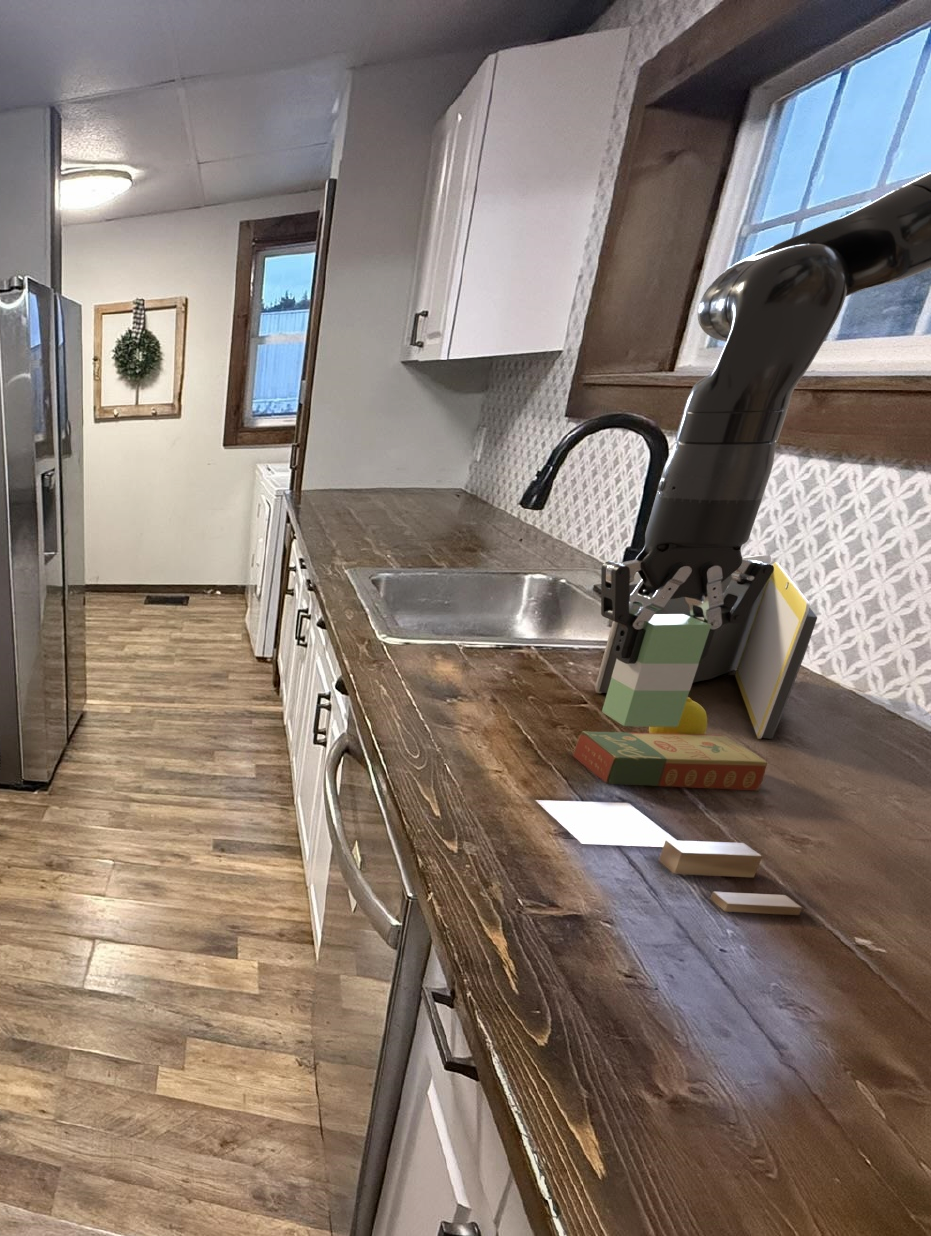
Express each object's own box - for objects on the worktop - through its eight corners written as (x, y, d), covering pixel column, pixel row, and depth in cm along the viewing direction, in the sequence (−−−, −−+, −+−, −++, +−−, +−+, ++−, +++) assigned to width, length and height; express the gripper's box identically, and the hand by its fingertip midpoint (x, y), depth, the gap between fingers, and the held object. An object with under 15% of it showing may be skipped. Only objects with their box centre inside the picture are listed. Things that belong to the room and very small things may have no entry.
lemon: (704, 764, 99) (724, 706, 96) (651, 759, 101) (669, 703, 98) (684, 746, 104) (703, 691, 101) (634, 742, 106) (651, 688, 103)
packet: (585, 649, 87) (646, 600, 77) (635, 648, 86) (703, 600, 77) (607, 735, 83) (674, 696, 74) (660, 736, 82) (735, 696, 73)
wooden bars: (657, 863, 80) (665, 839, 79) (734, 866, 79) (743, 842, 78) (717, 914, 72) (727, 888, 71) (804, 918, 71) (815, 892, 70)
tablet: (796, 748, 102) (854, 604, 95) (591, 717, 114) (628, 587, 107) (755, 672, 128) (797, 555, 121) (591, 654, 140) (620, 545, 133)
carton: (758, 793, 92) (771, 761, 90) (605, 786, 95) (614, 755, 94) (712, 763, 99) (723, 732, 98) (571, 757, 103) (579, 728, 101)
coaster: (627, 805, 91) (628, 802, 91) (686, 851, 82) (687, 848, 81) (534, 802, 92) (534, 799, 92) (581, 847, 83) (582, 844, 83)
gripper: (649, 499, 71) (600, 673, 77) (830, 494, 69) (764, 674, 75) (601, 490, 78) (559, 651, 84) (764, 485, 75) (709, 651, 82)
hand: (656, 661), depth 80 cm, fingers closed on packet, 5 cm apart
